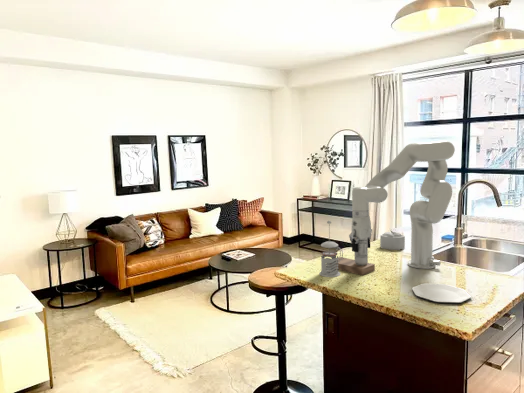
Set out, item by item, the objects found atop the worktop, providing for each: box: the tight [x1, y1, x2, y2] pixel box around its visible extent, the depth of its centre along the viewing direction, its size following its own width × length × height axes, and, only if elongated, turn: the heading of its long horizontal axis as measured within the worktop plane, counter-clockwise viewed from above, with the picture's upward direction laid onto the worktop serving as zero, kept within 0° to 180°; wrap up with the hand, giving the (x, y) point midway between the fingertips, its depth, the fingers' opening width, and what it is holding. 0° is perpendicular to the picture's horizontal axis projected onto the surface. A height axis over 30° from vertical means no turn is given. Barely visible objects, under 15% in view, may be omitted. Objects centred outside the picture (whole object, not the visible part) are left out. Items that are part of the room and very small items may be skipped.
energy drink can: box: [354, 236, 369, 265], centre depth 182 cm, size 6×6×15 cm
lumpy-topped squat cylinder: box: [379, 231, 406, 251], centre depth 223 cm, size 10×13×9 cm
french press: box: [319, 220, 344, 278], centre depth 178 cm, size 10×12×25 cm
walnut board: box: [329, 256, 376, 276], centre depth 186 cm, size 20×10×3 cm, turn 42°
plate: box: [411, 282, 472, 304], centre depth 149 cm, size 20×20×2 cm
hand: (361, 249), depth 182 cm, fingers open, 9 cm apart
